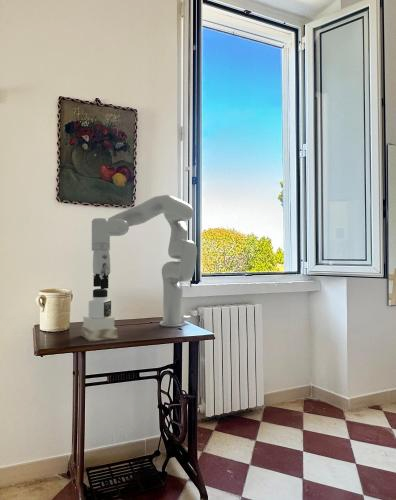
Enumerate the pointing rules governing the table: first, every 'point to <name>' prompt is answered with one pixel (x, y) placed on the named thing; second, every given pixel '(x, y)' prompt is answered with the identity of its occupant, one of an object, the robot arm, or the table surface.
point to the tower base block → (99, 334)
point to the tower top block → (98, 323)
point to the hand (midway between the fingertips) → (100, 287)
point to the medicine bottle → (100, 305)
